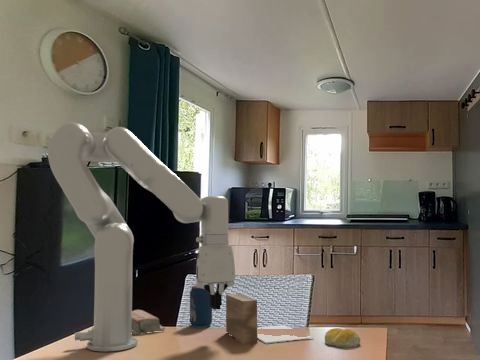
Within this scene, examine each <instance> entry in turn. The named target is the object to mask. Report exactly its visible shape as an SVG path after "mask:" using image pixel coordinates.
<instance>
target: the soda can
mask: <svg viewBox="0 0 480 360" xmlns="http://www.w3.org/2000/svg"><path fill="white" fill-rule="evenodd" d="M212 322H213V309H212V308H211V306H210V294H209V293H208V292H207V291H206V290H205V289H203V288H198V287H196V285H193V286H191V289H190V292H189V323H190V325H191V326H192V327H193V328H203V329H204V328H208V327H210V326H211V324H212Z"/></svg>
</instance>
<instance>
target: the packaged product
mask: <svg viewBox="0 0 480 360" xmlns="http://www.w3.org/2000/svg"><path fill="white" fill-rule="evenodd" d="M164 330H165V331H166V327H164V326H163V325H162V324H160V318H158V317H157V316H154V315H153V314H151V313H149V312H147V311H145V310H143V309H133V310H132V331H131V333H132V334H141V333H147V332H154V331H164ZM132 334H131V335H132ZM141 335H142V334H141Z"/></svg>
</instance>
